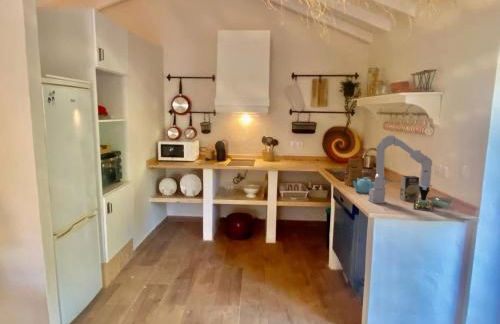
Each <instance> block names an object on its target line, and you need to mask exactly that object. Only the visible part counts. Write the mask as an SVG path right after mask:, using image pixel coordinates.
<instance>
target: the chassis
mask: <svg viewBox="0 0 500 324" xmlns="http://www.w3.org/2000/svg"><path fill="white" fill-rule="evenodd" d="M432 207H433V206H432V204H431V202H430V201H429V203H427V205H425V206H424V205H420V204H419V202H418V204H416V202H414V203H413V208H412V209H413V210H417V211H425V212H433V208H432Z"/></svg>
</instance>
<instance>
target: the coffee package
mask: <svg viewBox="0 0 500 324" xmlns="http://www.w3.org/2000/svg"><path fill="white" fill-rule="evenodd" d="M362 162H363V161H362V158H360V157H358V158H348V162H347V165H346V167H345V172H344V185H345V186H347V187H354V184H353V181H356V183H357V178H360V179H363V163H362Z"/></svg>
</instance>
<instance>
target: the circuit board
mask: <svg viewBox="0 0 500 324" xmlns="http://www.w3.org/2000/svg"><path fill="white" fill-rule="evenodd" d="M428 197H429V196H427V197H426V200H421V195H418V196H417V200H416V201H415V203H416V204H418V202H419V204H420V205H424V206H425V205H427V203H429V202H430V201H429V199H428Z"/></svg>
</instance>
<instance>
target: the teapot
mask: <svg viewBox="0 0 500 324" xmlns="http://www.w3.org/2000/svg"><path fill="white" fill-rule="evenodd" d="M353 184H354V186H353V188H354V189H355V191H356V192H357V193H359V194H365V195H366V194H368V195H369V190H370V189H372V188H374V181H373V180H371V179H369V178H368V177H363V178H362V179H360V178H357V183H356V181H353Z"/></svg>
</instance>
